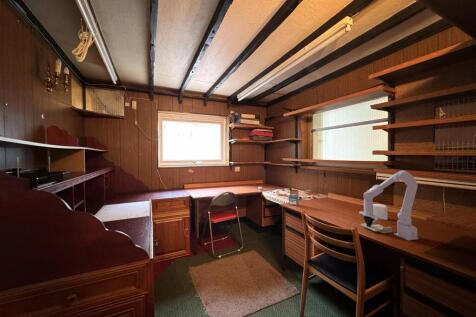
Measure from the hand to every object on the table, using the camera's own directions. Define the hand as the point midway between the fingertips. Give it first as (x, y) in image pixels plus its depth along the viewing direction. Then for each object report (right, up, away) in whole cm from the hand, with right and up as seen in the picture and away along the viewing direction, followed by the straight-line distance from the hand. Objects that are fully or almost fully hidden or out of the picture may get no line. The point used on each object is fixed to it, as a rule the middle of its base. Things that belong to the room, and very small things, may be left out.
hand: (368, 226), depth 134 cm
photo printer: (+26, -2, +23) cm, 35 cm away
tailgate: (+4, -1, +1) cm, 5 cm away
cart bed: (+8, -2, +1) cm, 9 cm away
